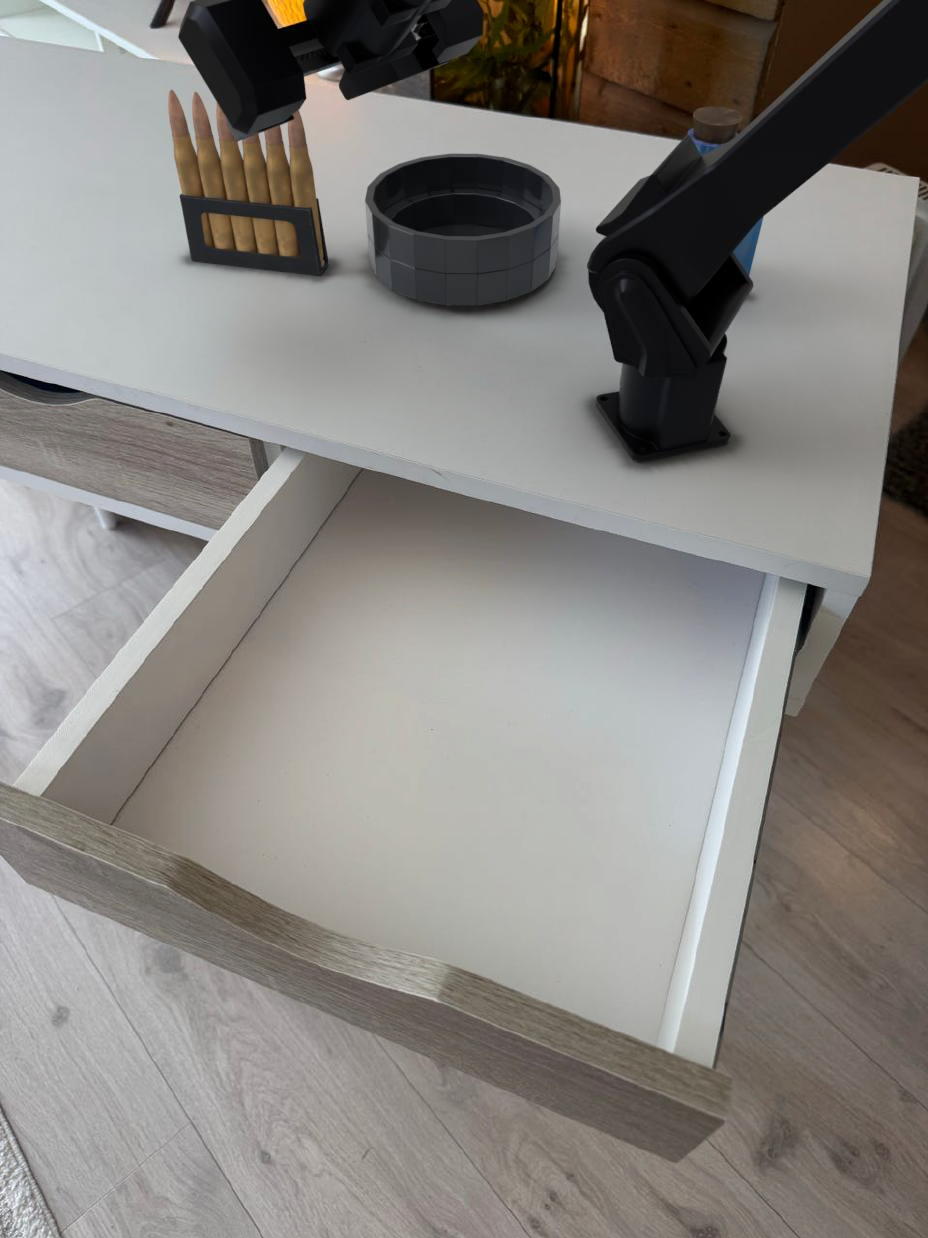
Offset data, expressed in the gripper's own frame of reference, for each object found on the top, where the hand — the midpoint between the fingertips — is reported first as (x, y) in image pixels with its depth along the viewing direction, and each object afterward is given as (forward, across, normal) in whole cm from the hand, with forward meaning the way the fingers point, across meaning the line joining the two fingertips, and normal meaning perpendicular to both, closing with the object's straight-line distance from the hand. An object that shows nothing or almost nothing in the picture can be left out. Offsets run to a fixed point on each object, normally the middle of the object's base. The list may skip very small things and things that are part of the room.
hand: (291, 112), depth 60 cm
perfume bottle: (-6, -19, +23) cm, 30 cm away
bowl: (+5, -11, +13) cm, 17 cm away
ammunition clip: (+14, 0, +4) cm, 14 cm away
